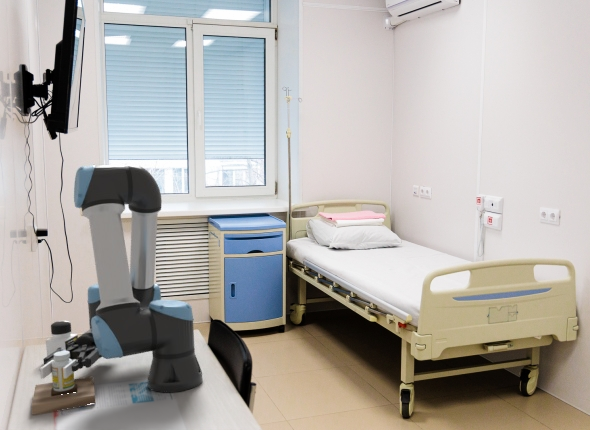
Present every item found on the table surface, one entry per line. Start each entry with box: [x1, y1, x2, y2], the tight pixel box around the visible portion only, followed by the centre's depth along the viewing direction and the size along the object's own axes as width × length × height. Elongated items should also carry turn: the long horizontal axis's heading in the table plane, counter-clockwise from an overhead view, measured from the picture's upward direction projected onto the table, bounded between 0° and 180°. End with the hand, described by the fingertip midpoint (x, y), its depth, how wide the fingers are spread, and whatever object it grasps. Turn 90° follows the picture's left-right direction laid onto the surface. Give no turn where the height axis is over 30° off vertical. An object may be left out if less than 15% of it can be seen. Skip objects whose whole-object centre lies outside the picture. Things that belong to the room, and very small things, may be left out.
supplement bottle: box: [51, 351, 75, 392], centre depth 158 cm, size 5×5×10 cm
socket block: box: [31, 376, 96, 416], centre depth 158 cm, size 15×15×2 cm
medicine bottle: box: [45, 320, 79, 357], centre depth 192 cm, size 7×7×12 cm
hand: (53, 373), depth 153 cm, fingers closed on supplement bottle, 5 cm apart
